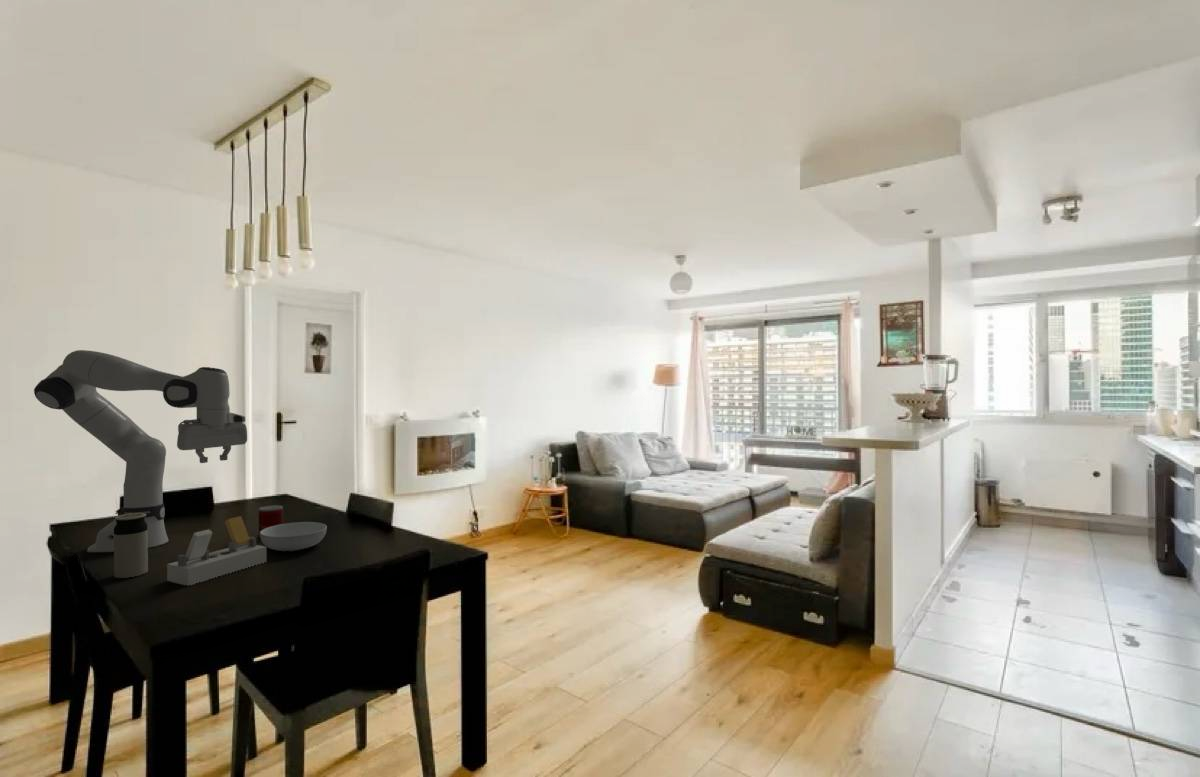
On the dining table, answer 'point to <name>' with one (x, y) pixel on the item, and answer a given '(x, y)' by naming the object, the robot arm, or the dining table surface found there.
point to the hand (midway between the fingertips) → (213, 461)
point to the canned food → (270, 516)
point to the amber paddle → (238, 531)
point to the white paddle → (198, 545)
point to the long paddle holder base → (215, 563)
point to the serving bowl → (293, 535)
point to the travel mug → (130, 545)
